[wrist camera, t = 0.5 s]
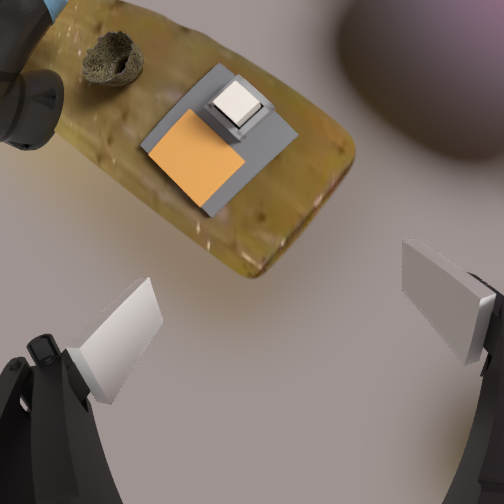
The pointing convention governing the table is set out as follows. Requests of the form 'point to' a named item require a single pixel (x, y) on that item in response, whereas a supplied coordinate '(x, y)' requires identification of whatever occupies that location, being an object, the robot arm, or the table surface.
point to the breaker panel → (216, 142)
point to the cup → (113, 60)
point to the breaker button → (237, 103)
